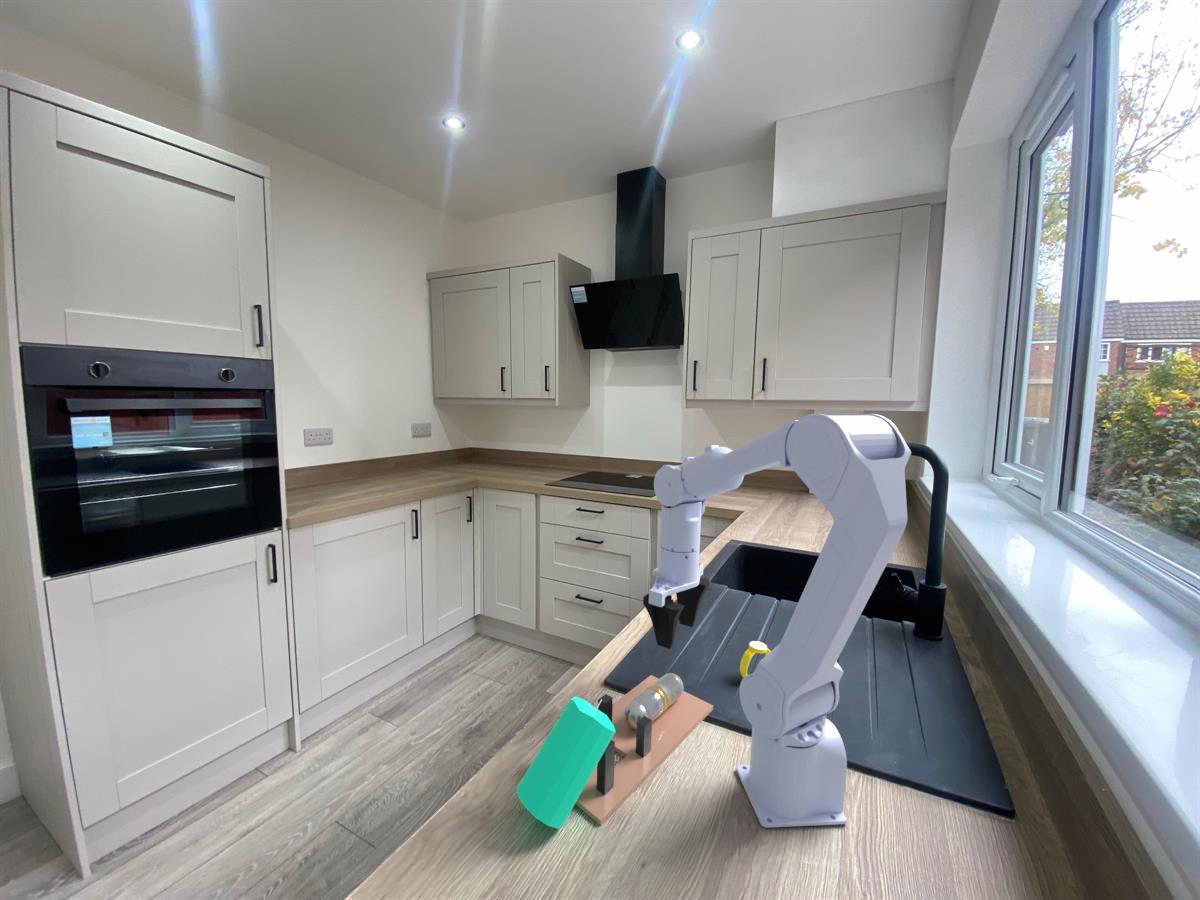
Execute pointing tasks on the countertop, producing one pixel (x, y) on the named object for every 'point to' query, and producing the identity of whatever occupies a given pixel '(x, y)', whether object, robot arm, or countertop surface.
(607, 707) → the black upright posts
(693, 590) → the robot arm
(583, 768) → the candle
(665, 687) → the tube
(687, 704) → the plate
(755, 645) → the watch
